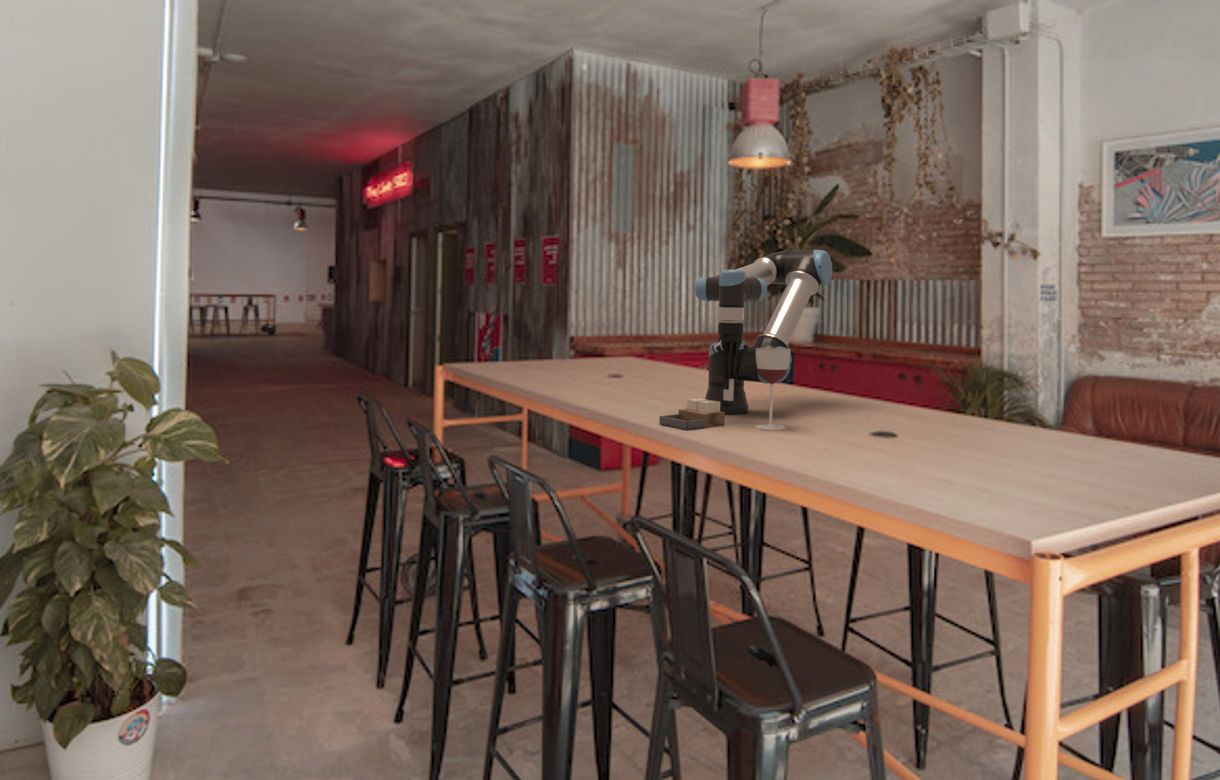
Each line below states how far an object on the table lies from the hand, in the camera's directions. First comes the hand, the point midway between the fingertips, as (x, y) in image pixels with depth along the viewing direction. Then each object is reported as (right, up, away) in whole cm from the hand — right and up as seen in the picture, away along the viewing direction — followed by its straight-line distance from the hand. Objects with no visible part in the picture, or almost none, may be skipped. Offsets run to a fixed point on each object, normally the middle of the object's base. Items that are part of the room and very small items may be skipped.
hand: (728, 400), depth 255 cm
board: (-8, -7, -2) cm, 11 cm away
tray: (-15, -8, -7) cm, 18 cm away
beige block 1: (-9, -3, 0) cm, 10 cm away
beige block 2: (-6, -3, -4) cm, 8 cm away
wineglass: (+12, -8, -6) cm, 15 cm away
